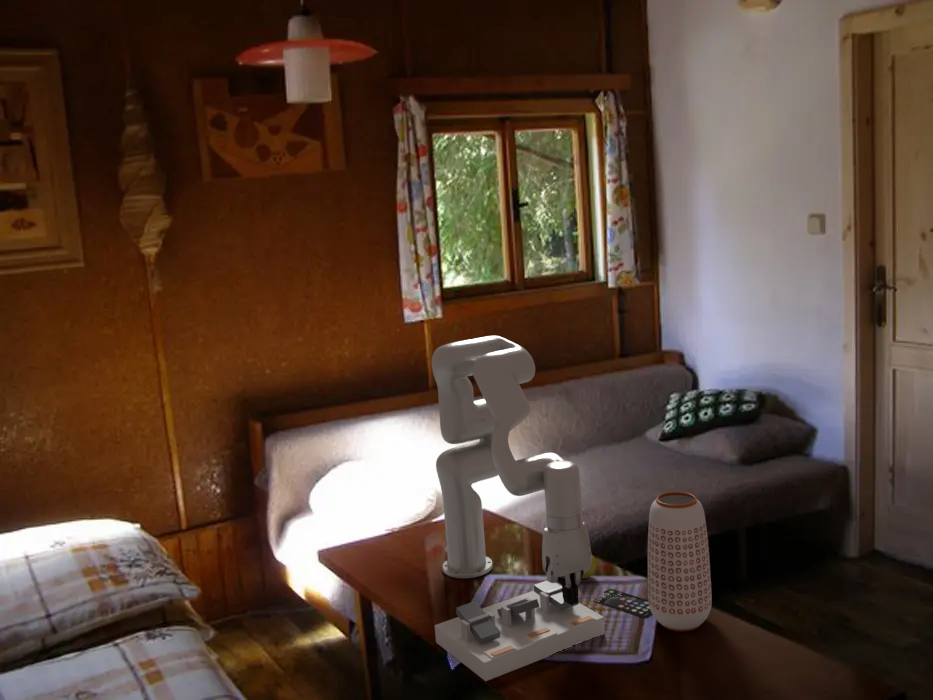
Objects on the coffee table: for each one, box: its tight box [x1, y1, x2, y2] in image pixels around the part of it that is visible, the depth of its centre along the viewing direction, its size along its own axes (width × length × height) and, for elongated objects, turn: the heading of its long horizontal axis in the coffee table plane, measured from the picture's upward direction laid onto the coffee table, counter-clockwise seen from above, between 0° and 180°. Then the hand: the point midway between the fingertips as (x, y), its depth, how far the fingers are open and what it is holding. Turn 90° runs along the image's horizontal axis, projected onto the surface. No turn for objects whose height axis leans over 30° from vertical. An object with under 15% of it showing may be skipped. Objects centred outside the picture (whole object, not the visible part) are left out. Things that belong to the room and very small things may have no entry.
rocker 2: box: [497, 599, 539, 617], centre depth 210 cm, size 10×5×2 cm, turn 30°
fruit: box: [581, 553, 597, 579], centre depth 237 cm, size 6×6×12 cm
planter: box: [647, 491, 713, 632], centre depth 210 cm, size 13×13×28 cm
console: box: [434, 590, 606, 682], centre depth 210 cm, size 20×30×8 cm, turn 121°
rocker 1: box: [455, 600, 501, 644], centre depth 205 cm, size 10×5×2 cm, turn 32°
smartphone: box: [595, 588, 653, 619], centre depth 223 cm, size 7×1×15 cm
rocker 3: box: [533, 580, 580, 611], centre depth 215 cm, size 10×5×2 cm, turn 31°
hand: (571, 602), depth 210 cm, fingers closed
